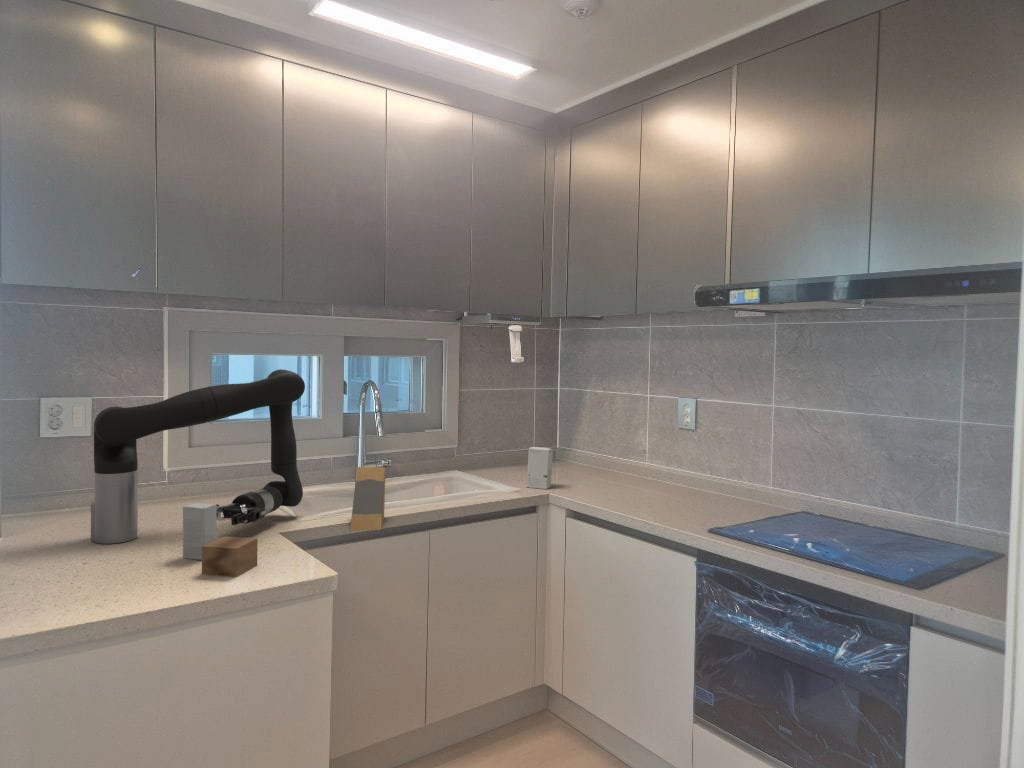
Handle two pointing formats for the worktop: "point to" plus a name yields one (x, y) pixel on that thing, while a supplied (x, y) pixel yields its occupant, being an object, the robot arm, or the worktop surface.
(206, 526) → the skincare box
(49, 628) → the worktop surface
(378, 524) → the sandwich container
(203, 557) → the walnut block
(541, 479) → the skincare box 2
